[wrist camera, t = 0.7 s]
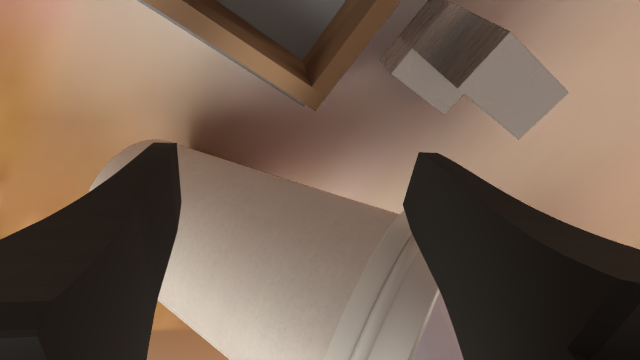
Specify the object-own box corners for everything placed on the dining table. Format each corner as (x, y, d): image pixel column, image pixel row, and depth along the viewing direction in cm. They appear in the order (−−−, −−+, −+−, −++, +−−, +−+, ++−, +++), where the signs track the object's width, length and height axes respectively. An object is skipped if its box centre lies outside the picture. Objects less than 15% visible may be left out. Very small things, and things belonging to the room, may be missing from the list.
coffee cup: (10, 295, 16) (328, 552, 11) (98, 78, 16) (463, 222, 11) (172, 276, 25) (391, 410, 19) (229, 136, 25) (465, 230, 19)
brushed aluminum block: (433, -7, 19) (510, 31, 14) (482, 41, 21) (568, 92, 16) (380, 60, 21) (429, 119, 15) (430, 99, 23) (490, 165, 17)
